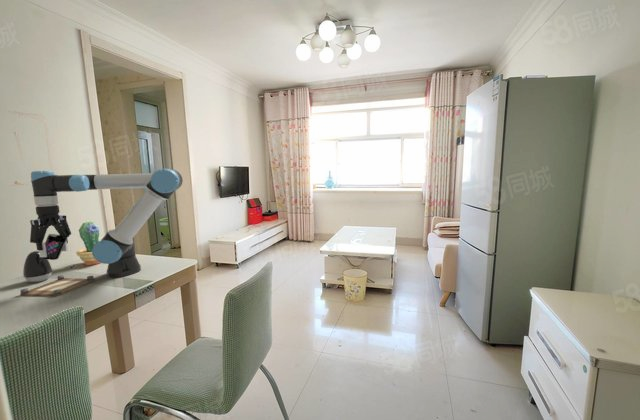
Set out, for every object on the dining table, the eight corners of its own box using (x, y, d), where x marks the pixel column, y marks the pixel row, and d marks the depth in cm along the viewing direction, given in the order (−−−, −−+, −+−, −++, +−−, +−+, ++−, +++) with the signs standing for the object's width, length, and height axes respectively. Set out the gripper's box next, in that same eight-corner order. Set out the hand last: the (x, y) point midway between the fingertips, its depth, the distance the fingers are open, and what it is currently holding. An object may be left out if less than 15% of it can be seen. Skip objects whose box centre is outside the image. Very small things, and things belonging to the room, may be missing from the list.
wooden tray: (95, 280, 139) (94, 275, 138) (57, 296, 120) (56, 291, 120) (61, 279, 140) (60, 275, 140) (19, 296, 122) (18, 290, 122)
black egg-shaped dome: (35, 285, 134) (30, 254, 132) (19, 283, 136) (13, 253, 134) (58, 277, 144) (54, 249, 142) (43, 276, 146) (38, 248, 144)
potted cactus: (73, 268, 157) (67, 225, 153) (81, 261, 170) (76, 221, 167) (107, 264, 164) (102, 222, 160) (112, 257, 177) (107, 218, 174)
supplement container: (36, 254, 126) (46, 233, 127) (55, 256, 131) (64, 235, 133) (41, 259, 122) (51, 236, 124) (60, 260, 128) (70, 239, 129)
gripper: (63, 202, 136) (69, 247, 139) (11, 208, 115) (20, 261, 118) (77, 202, 135) (83, 247, 138) (27, 208, 114) (36, 261, 117)
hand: (54, 253), depth 128 cm, fingers closed on supplement container, 9 cm apart
